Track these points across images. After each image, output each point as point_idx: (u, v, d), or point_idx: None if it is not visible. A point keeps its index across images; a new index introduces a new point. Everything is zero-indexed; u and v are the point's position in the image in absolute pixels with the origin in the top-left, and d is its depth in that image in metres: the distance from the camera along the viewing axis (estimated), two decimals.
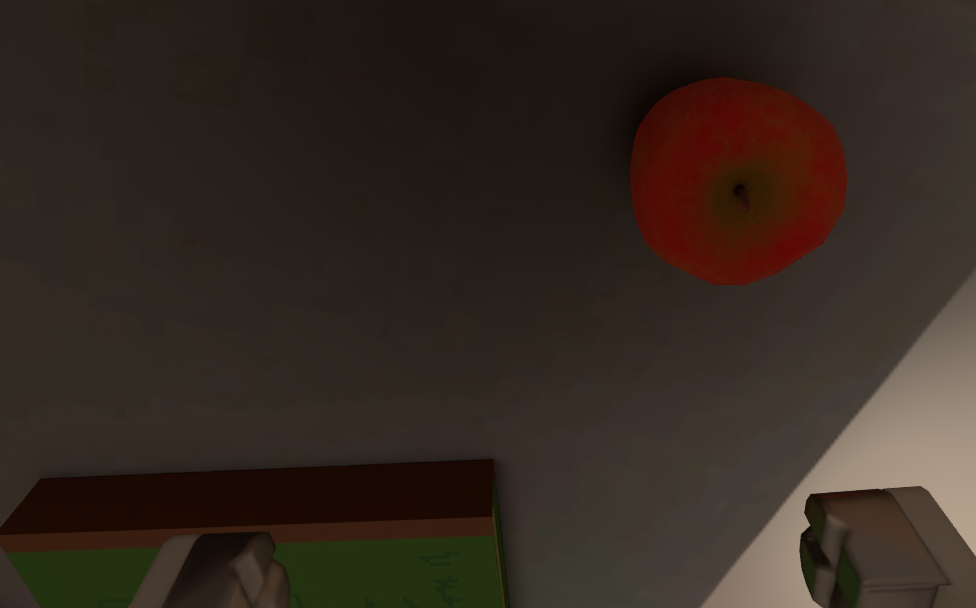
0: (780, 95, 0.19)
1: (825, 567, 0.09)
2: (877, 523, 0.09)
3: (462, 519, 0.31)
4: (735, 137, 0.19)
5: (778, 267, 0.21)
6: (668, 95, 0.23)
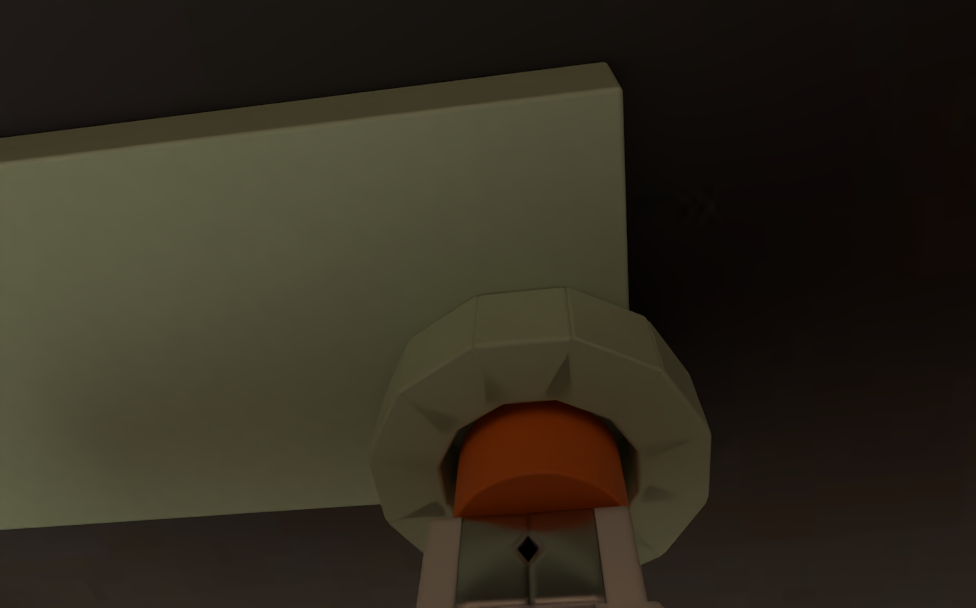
0: None
1: None
2: (569, 542, 0.09)
3: None
4: None
5: None
6: None
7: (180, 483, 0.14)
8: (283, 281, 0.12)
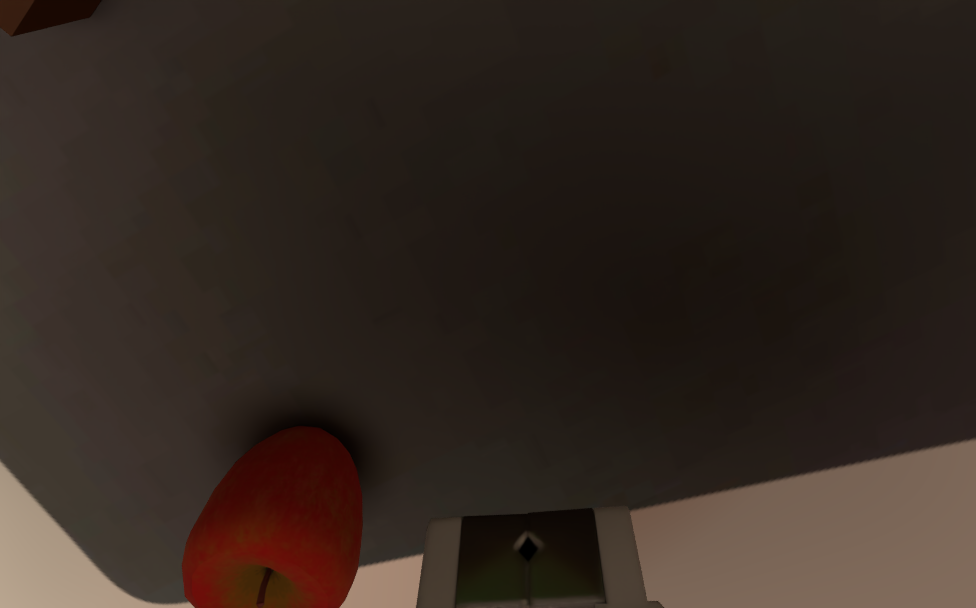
0: None
1: None
2: (568, 542, 0.09)
3: None
4: None
5: (188, 575, 0.23)
6: None
7: None
8: None
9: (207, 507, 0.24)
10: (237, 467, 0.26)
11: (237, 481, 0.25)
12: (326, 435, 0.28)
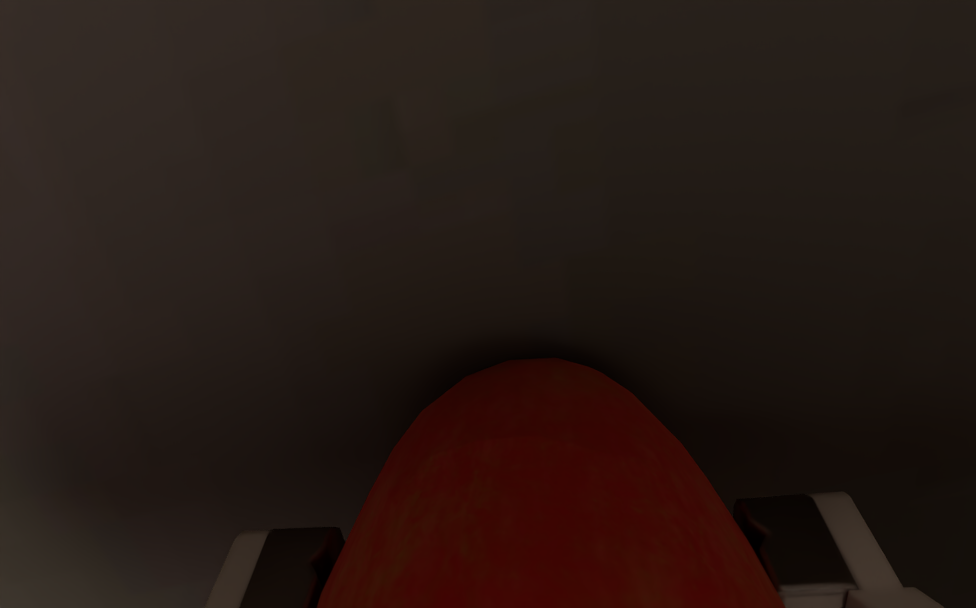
0: None
1: None
2: (796, 528, 0.09)
3: None
4: None
5: None
6: None
7: None
8: None
9: (411, 576, 0.07)
10: (473, 445, 0.08)
11: (510, 497, 0.07)
12: (632, 394, 0.11)
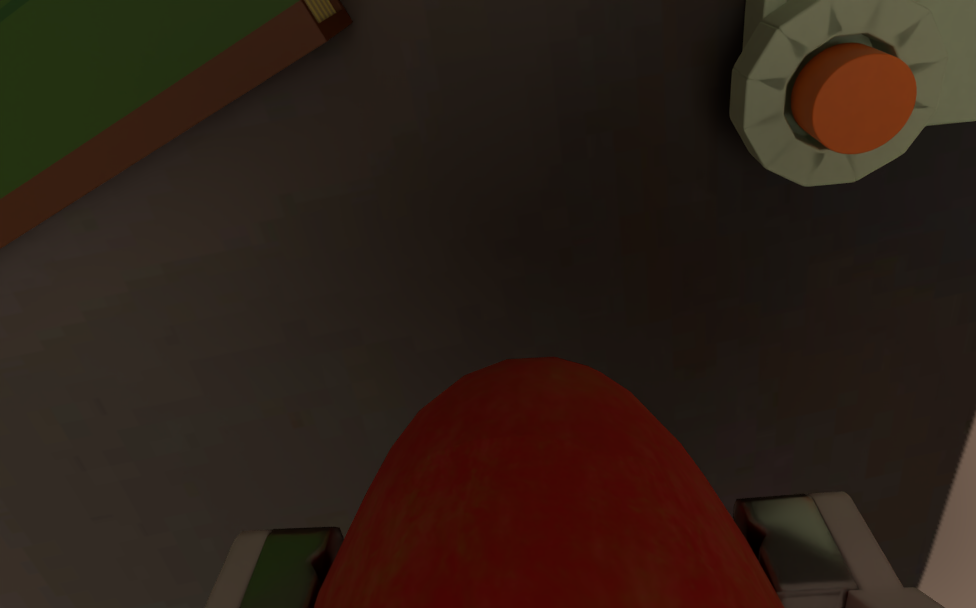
0: None
1: None
2: (796, 528, 0.09)
3: None
4: None
5: None
6: None
7: None
8: None
9: (408, 575, 0.07)
10: (471, 444, 0.08)
11: (508, 496, 0.07)
12: (630, 393, 0.11)
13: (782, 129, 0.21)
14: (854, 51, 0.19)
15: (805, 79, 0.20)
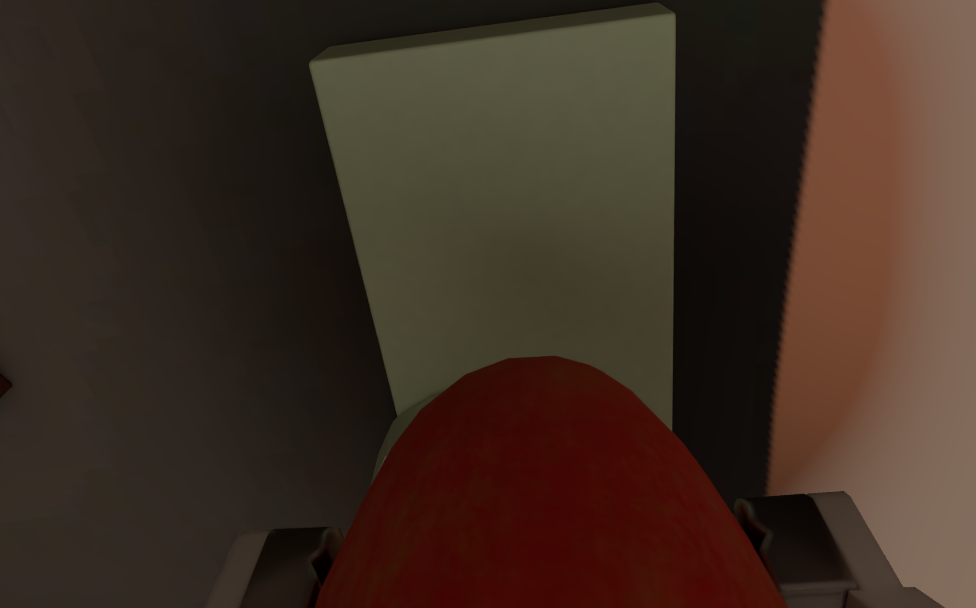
0: None
1: None
2: (796, 528, 0.09)
3: None
4: None
5: None
6: None
7: (394, 248, 0.17)
8: (578, 347, 0.19)
9: (409, 574, 0.07)
10: (472, 443, 0.08)
11: (510, 494, 0.07)
12: (632, 392, 0.11)
13: None
14: None
15: None
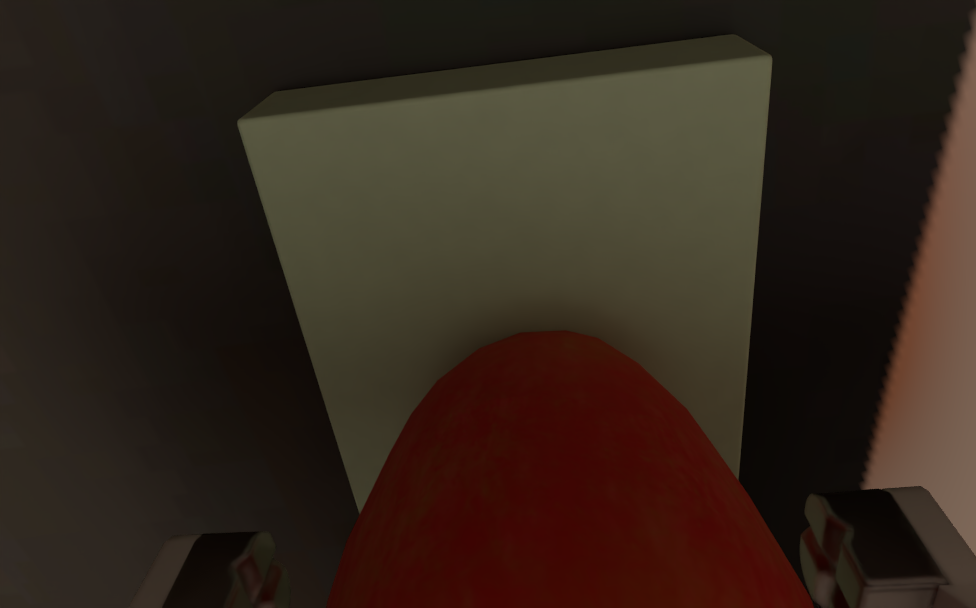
0: None
1: (825, 567, 0.09)
2: (877, 523, 0.09)
3: None
4: None
5: None
6: None
7: (366, 365, 0.13)
8: None
9: (435, 515, 0.07)
10: (490, 402, 0.09)
11: (527, 446, 0.08)
12: (639, 365, 0.11)
13: None
14: None
15: None
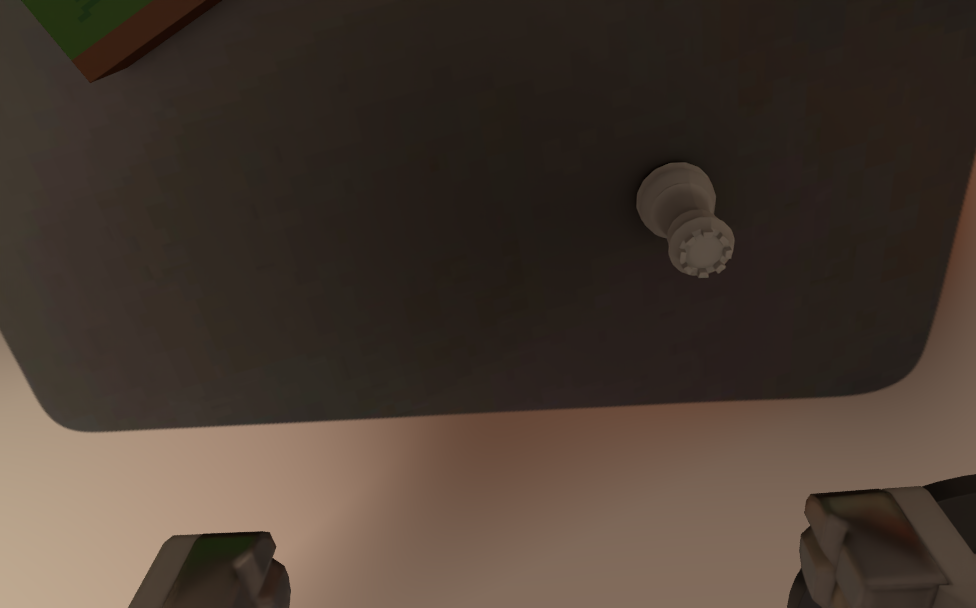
0: None
1: (825, 567, 0.09)
2: (877, 523, 0.09)
3: (108, 68, 0.34)
4: None
5: None
6: None
7: None
8: None
9: None
10: None
11: None
12: None
13: None
14: None
15: None
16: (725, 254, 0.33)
